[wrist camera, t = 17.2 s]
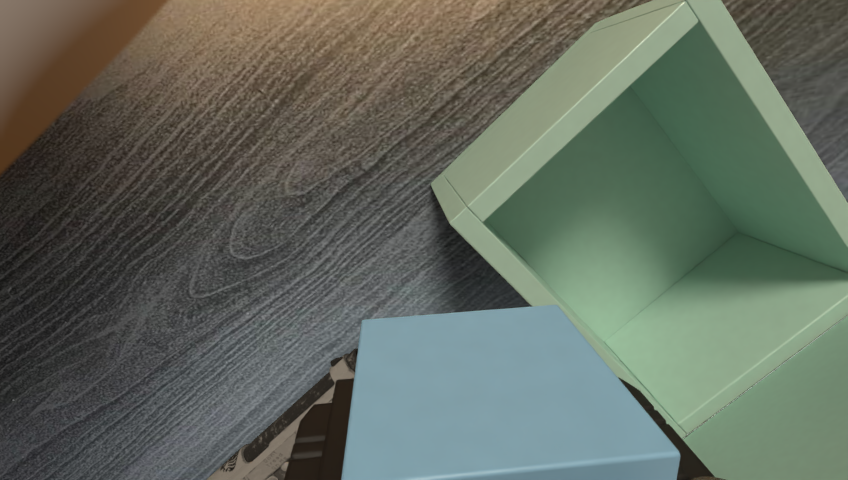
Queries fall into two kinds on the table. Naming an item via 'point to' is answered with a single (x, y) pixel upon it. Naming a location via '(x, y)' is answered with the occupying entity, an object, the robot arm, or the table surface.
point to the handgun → (283, 431)
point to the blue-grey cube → (494, 403)
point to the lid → (785, 420)
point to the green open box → (661, 207)
